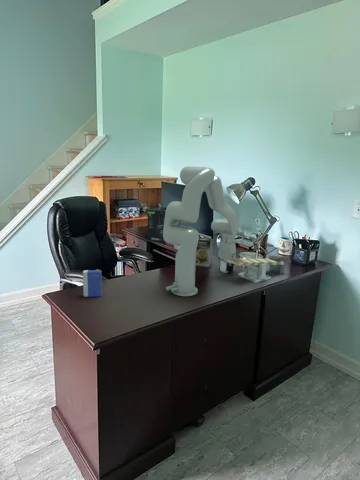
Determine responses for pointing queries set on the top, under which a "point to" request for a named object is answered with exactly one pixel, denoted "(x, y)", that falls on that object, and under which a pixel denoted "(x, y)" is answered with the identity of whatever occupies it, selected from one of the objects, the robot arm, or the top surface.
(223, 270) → the block
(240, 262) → the beam
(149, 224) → the headset box
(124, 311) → the top surface
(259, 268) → the beam stand
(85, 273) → the walkman
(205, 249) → the coffee box
